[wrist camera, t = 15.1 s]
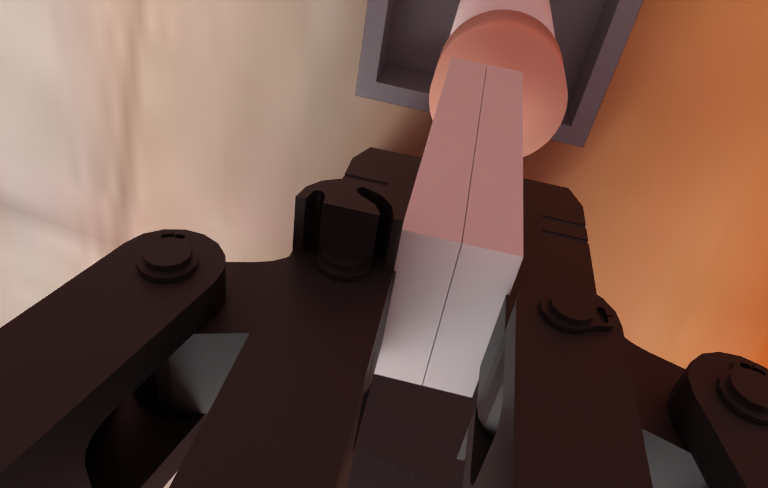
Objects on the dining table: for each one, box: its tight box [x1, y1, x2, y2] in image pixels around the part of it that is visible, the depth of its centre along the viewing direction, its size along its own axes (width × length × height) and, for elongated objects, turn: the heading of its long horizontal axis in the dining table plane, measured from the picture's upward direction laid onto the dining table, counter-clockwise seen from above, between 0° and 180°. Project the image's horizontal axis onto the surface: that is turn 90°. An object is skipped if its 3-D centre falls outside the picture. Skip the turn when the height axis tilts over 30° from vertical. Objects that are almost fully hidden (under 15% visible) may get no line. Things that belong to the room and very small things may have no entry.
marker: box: [429, 0, 568, 157], centre depth 19 cm, size 3×3×12 cm
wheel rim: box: [346, 374, 479, 488], centre depth 27 cm, size 20×9×20 cm, turn 151°
